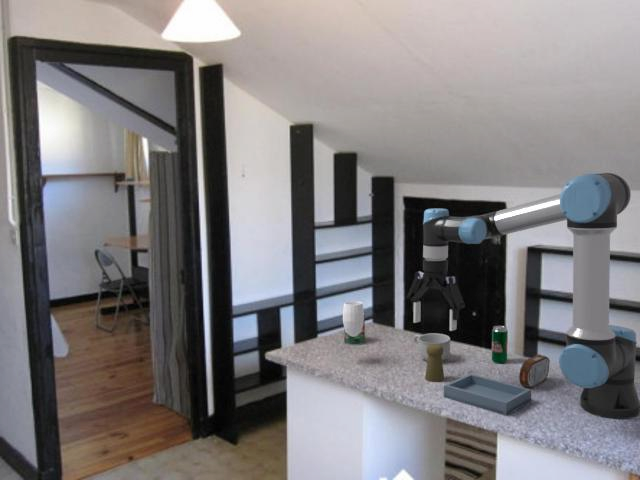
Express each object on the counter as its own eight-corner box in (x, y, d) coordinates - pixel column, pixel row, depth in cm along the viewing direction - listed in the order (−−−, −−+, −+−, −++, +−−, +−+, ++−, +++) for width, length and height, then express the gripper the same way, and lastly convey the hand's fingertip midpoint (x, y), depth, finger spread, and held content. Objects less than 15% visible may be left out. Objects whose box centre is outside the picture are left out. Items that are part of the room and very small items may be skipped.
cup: (361, 366, 217) (360, 306, 214) (340, 364, 219) (339, 304, 216) (366, 359, 223) (366, 301, 221) (346, 358, 226) (345, 300, 223)
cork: (444, 382, 200) (444, 348, 198) (424, 381, 201) (424, 347, 200) (444, 376, 206) (444, 342, 204) (425, 375, 207) (425, 341, 206)
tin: (541, 376, 204) (542, 351, 203) (551, 379, 202) (551, 353, 201) (517, 389, 193) (518, 362, 192) (527, 391, 191) (528, 364, 190)
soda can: (488, 361, 220) (489, 327, 218) (498, 358, 223) (498, 324, 221) (500, 364, 216) (501, 330, 214) (510, 361, 219) (510, 327, 217)
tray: (531, 401, 184) (531, 389, 183) (505, 415, 174) (506, 403, 173) (470, 384, 198) (470, 373, 197) (443, 396, 188) (443, 385, 188)
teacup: (456, 360, 221) (456, 338, 220) (433, 366, 215) (433, 343, 214) (428, 351, 232) (428, 329, 231) (405, 356, 226) (405, 334, 225)
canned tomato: (358, 346, 240) (358, 317, 238) (340, 343, 244) (339, 315, 242) (368, 341, 246) (368, 313, 245) (350, 338, 250) (350, 310, 249)
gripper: (477, 261, 192) (475, 330, 195) (410, 253, 210) (409, 316, 213) (463, 265, 187) (462, 336, 190) (396, 255, 205) (395, 321, 208)
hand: (434, 326), depth 201 cm, fingers open, 13 cm apart
